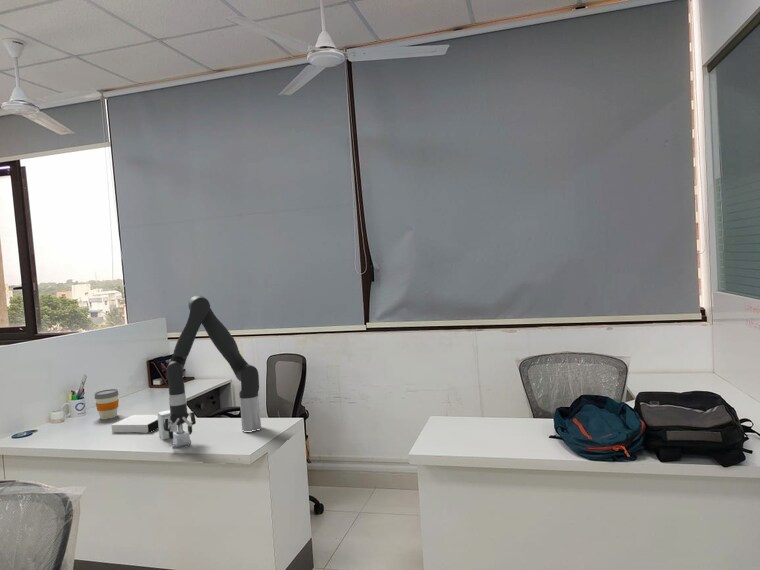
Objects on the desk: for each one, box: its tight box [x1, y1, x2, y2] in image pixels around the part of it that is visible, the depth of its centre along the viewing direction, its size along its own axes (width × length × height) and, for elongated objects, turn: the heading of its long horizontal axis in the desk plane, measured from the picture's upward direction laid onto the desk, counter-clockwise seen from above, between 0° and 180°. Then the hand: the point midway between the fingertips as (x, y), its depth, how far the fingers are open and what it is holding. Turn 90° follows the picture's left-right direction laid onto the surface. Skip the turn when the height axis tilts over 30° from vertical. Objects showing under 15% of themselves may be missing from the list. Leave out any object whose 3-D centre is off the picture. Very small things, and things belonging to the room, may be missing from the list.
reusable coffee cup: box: [94, 388, 120, 420], centre depth 307 cm, size 12×13×15 cm
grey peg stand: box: [171, 424, 191, 449], centre depth 249 cm, size 7×7×10 cm
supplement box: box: [156, 409, 178, 441], centre depth 263 cm, size 7×7×13 cm
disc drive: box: [111, 414, 159, 433], centre depth 282 cm, size 18×22×5 cm
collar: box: [172, 429, 191, 446], centre depth 249 cm, size 6×6×5 cm
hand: (180, 436), depth 249 cm, fingers open, 8 cm apart
